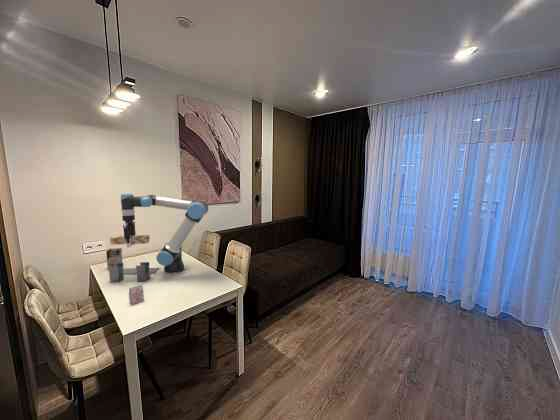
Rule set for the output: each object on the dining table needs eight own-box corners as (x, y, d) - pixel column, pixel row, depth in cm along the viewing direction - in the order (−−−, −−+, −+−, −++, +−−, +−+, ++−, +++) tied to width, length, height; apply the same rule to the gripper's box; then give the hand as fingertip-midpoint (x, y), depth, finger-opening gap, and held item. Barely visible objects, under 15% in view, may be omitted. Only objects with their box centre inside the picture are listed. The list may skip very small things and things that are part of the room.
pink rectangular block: (129, 302, 136) (128, 287, 135) (141, 298, 142) (140, 283, 140) (131, 305, 134) (130, 289, 133) (144, 300, 139) (143, 285, 138)
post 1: (124, 278, 168) (123, 262, 166) (118, 283, 160) (117, 266, 159) (115, 278, 167) (114, 262, 165) (109, 283, 160) (108, 266, 158)
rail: (149, 241, 171) (149, 235, 170) (147, 243, 166) (146, 236, 165) (114, 242, 166) (113, 236, 165) (110, 244, 161) (109, 237, 161)
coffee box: (107, 270, 181) (105, 251, 179) (110, 267, 187) (108, 248, 185) (120, 269, 184) (119, 250, 181) (123, 266, 190) (121, 247, 187)
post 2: (150, 277, 170) (149, 262, 168) (145, 282, 163) (144, 265, 161) (141, 278, 169) (140, 262, 167) (136, 282, 162) (135, 266, 160)
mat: (159, 268, 188) (159, 267, 187) (153, 273, 177) (153, 273, 177) (120, 269, 183) (120, 268, 183) (112, 275, 173) (112, 274, 173)
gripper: (128, 213, 171) (130, 242, 174) (116, 217, 154) (119, 250, 157) (139, 212, 173) (141, 242, 176) (128, 217, 155) (131, 249, 158)
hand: (130, 245), depth 166 cm, fingers closed on rail, 5 cm apart
